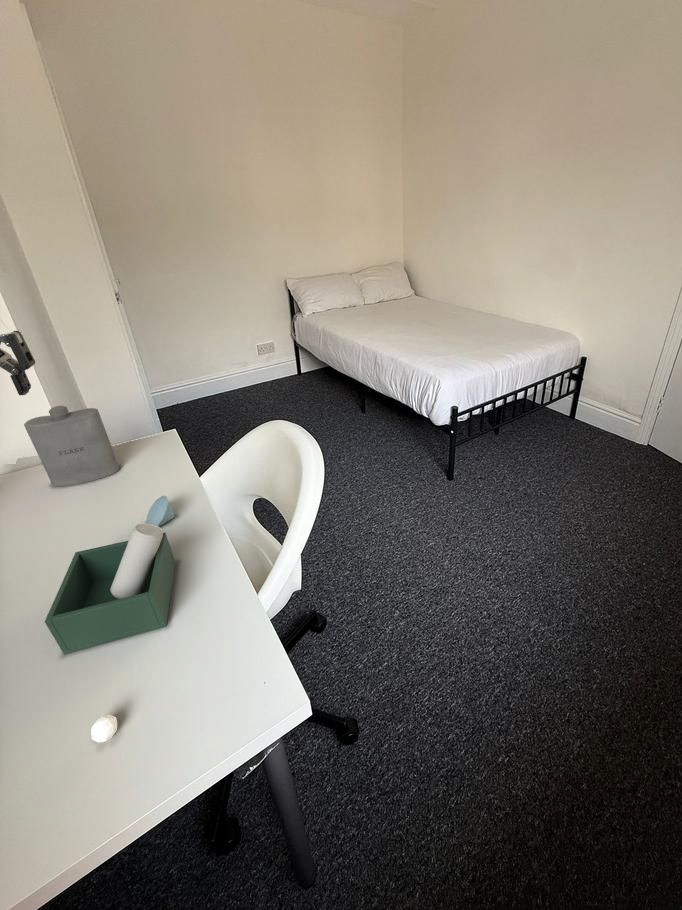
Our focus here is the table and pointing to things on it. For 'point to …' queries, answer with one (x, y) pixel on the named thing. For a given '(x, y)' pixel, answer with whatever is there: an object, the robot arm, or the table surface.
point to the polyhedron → (104, 728)
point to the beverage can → (136, 560)
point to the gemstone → (160, 512)
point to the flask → (72, 445)
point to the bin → (108, 599)
